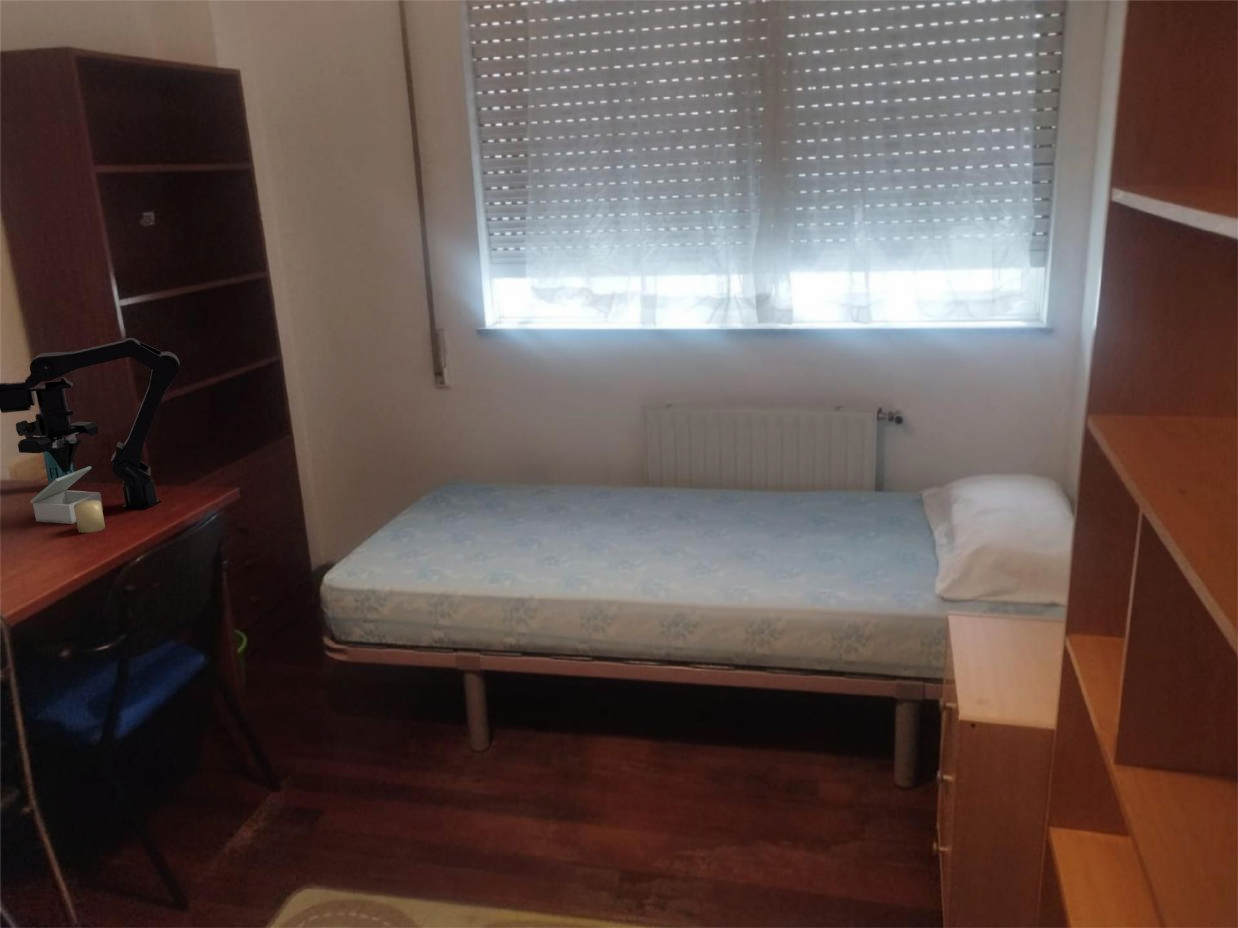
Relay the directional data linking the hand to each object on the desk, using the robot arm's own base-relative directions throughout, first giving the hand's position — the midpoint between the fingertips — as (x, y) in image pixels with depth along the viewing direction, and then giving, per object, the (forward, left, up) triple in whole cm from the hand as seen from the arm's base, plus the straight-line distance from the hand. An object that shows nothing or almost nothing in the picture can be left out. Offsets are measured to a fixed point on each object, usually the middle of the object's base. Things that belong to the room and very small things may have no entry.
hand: (65, 472), depth 228 cm
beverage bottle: (+20, -19, -11) cm, 30 cm away
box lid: (+1, +1, -3) cm, 3 cm away
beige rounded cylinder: (-12, +8, -11) cm, 18 cm away
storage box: (0, +1, -11) cm, 11 cm away
